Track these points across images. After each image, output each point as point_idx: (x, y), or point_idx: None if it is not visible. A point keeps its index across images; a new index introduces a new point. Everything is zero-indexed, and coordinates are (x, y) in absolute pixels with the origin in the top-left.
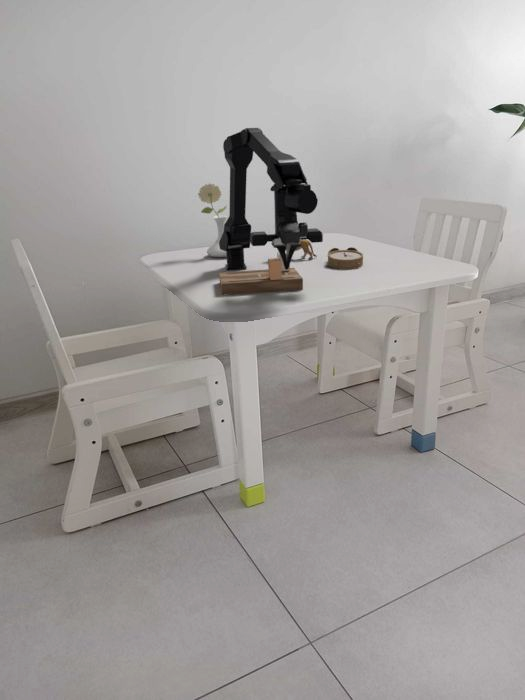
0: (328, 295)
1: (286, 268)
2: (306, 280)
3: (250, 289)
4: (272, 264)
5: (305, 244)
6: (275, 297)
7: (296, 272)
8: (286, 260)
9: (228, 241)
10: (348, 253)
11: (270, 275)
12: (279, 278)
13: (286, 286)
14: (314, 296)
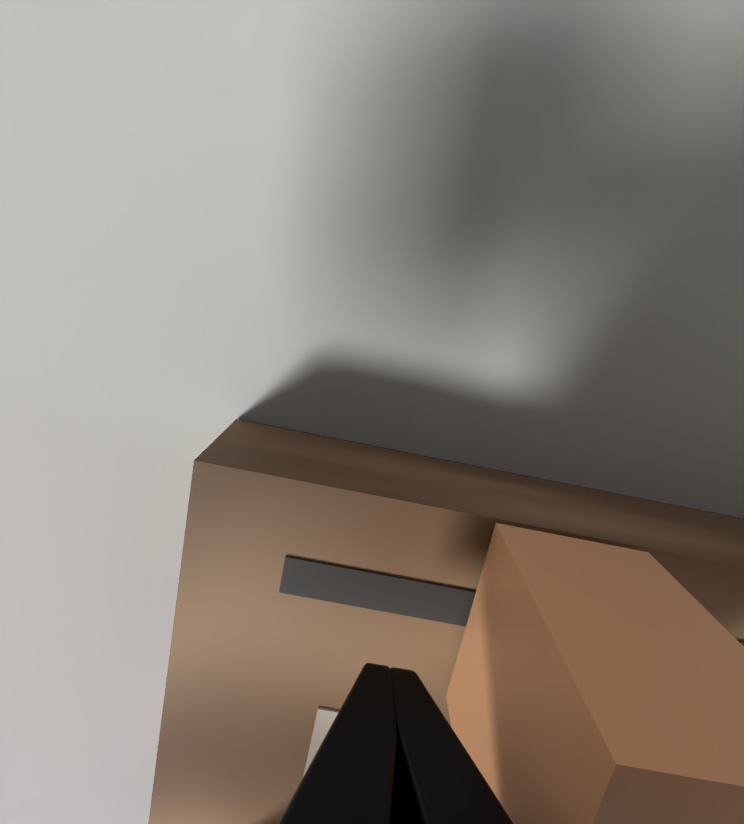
0: (28, 38)
1: (400, 672)
2: (92, 700)
3: None
4: None
5: None
6: (640, 254)
7: (173, 763)
8: (420, 806)
9: None
10: None
11: (684, 594)
12: (531, 534)
13: (420, 470)
14: (207, 78)
